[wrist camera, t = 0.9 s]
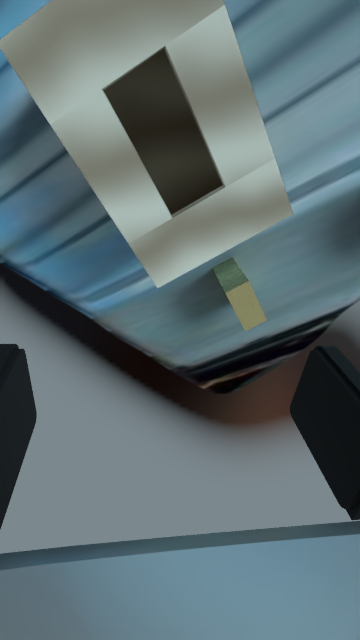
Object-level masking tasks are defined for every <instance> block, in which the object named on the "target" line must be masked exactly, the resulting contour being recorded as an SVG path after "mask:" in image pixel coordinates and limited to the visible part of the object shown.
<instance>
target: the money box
mask: <svg viewBox="0 0 360 640" xmlns="http://www.w3.org/2000/svg"><path fill="white" fill-rule="evenodd" d="M0 49H1V51H2V52H3V54H4V55H5V57H6V58H7V60H8V61H9V63H10V64H11V66H12V67H13V69H14V70H15V72H16V73H17V75H18V77H19V78H20V80H21V81H22V83H23V84H24V86H25V87H26V89H27V90H28V92H29V93H30V95H31V96H32V98H33V99H34V101H35V102H36V104H37V105H38V107H39V109H40V110H41V112H42V113H43V115H44V116H45V118H46V119H47V121H48V122H49V124H50V125H51V127H52V128H53V130H54V131H55V133H56V134H57V136H58V137H59V139H60V140H61V142H62V144H63V145H64V147H65V148H66V150H67V151H68V153H69V154H70V156H71V157H72V159H73V160H74V162H75V163H76V165H77V166H78V168H79V169H80V171H81V172H82V174H83V176H84V177H85V179H86V180H87V182H88V183H89V185H90V186H91V188H92V189H93V191H94V192H95V194H96V195H97V197H98V198H99V200H100V201H101V203H102V204H103V206H104V207H105V209H106V211H107V212H108V214H109V215H110V217H111V218H112V220H113V221H114V223H115V224H116V226H117V227H118V229H119V230H120V232H121V233H122V235H123V236H124V238H125V239H126V241H127V243H128V244H129V246H130V247H131V249H132V250H133V252H134V253H135V255H136V256H137V258H138V259H139V261H140V262H141V264H142V265H143V267H144V268H145V270H146V271H147V273H148V274H149V276H150V278H151V279H152V281H153V282H154V284H155V285H156V287H157V288H159V287H161V286H163V285H165V284H166V283H168V282H170V281H172V280H174V279H176V278H177V277H179V276H181V275H183V274H185V273H187V272H188V271H190V270H192V269H194V268H196V267H198V266H199V265H201V264H203V263H205V262H207V261H209V260H210V259H212V258H214V257H216V256H218V255H220V254H221V253H223V252H225V251H227V250H229V249H231V248H232V247H234V246H236V245H238V244H240V243H242V242H243V241H245V240H247V239H249V238H251V237H253V236H254V235H256V234H258V233H260V232H262V231H264V230H265V229H267V228H269V227H271V226H273V225H275V224H276V223H278V222H280V221H282V220H284V219H286V218H287V217H289V216H291V215H293V211H292V208H291V205H290V202H289V199H288V196H287V193H286V190H285V187H284V183H283V180H282V177H281V174H280V171H279V168H278V165H277V162H276V159H275V156H274V153H273V150H272V147H271V144H270V141H269V138H268V135H267V132H266V129H265V125H264V122H263V119H262V116H261V113H260V110H259V107H258V104H257V101H256V98H255V95H254V92H253V89H252V86H251V83H250V80H249V77H248V74H247V70H246V67H245V64H244V61H243V58H242V55H241V52H240V49H239V46H238V43H237V40H236V37H235V34H234V31H233V28H232V25H231V22H230V19H229V16H228V12H227V9H226V6H225V3H224V0H51V1H50V2H49V3H47V4H46V5H45V6H43V7H42V8H41V9H39V10H38V11H37V12H35V13H34V14H33V15H32V16H30V17H29V18H28V19H26V20H25V21H24V22H22V23H21V24H20V25H19V26H17V27H16V28H15V29H13V30H12V31H11V32H9V33H8V34H7V35H5V36H4V37H3V38H2V39H0Z"/></svg>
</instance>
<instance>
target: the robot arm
mask: <svg viewBox="0 0 360 640" xmlns="http://www.w3.org/2000/svg"><path fill="white" fill-rule="evenodd" d="M290 413H291V416H292V418H293V420H294V422H295V424H296V426H297V427H298V429H299V431H300V433H301V435H302V437H303V439H304V440H305V442H306V444H307V446H308V448H309V449H310V451H311V453H312V455H313V457H314V459H315V460H316V462H317V464H318V466H319V468H320V470H321V472H322V474H323V475H324V477H325V479H326V481H327V483H328V485H329V486H330V488H331V490H332V492H333V494H334V496H335V497H336V499H337V501H338V503H339V504H340V506H341V507H342V508H344V509H346V511H347V512H348V514H349V516H350V518H351V520H359V519H360V372H359V371H358V370H357V369H356V368H355V367H354V366H353V365H352V364H351V362H350V361H349V360H348V359H347V358H346V357H345V356H344V355H343V354H342V353H341V352H340V350H339V349H338V348H337V347H335V346H317V347H316V348H315V349H314V350H312V351H311V352H310V354H309V356H308V359H307V362H306V364H305V367H304V370H303V372H302V375H301V378H300V381H299V383H298V386H297V389H296V392H295V394H294V397H293V400H292V403H291V405H290ZM35 423H36V407H35V402H34V397H33V391H32V386H31V381H30V375H29V370H28V364H27V359H26V354H25V351H24V349H19V348H18V345H16V344H0V529H1V526H2V523H3V520H4V517H5V514H6V511H7V508H8V505H9V502H10V499H11V495H12V493H13V490H14V487H15V483H16V480H17V478H18V474H19V472H20V469H21V465H22V462H23V459H24V456H25V453H26V450H27V447H28V444H29V441H30V438H31V435H32V432H33V429H34V426H35ZM0 640H360V521H353V522H341V523H328V524H316V525H303V526H291V527H279V528H267V529H256V530H244V531H232V532H220V533H209V534H197V535H186V536H176V537H175V536H174V537H163V538H152V539H141V540H131V541H120V542H109V543H98V544H88V545H76V546H67V547H57V548H48V549H39V550H31V551H21V552H13V553H3V554H0Z"/></svg>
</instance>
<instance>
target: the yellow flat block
mask: <svg viewBox="0 0 360 640" xmlns="http://www.w3.org/2000/svg"><path fill="white" fill-rule="evenodd" d="M213 270H214V272H215V274H216V276H217V278H218V280H219V282H220V284H221V286H222V288H223V290H224V292H225V294H226V295H227V297H228V299H229V301H230V303H231V305H232V307H233V309H234V311H235V313H236V315H237V317H238V318H239V320H240V322H241V324H242V326H243V328H244V330H245V331H246V330H248V329H250V328H252V327H254V326H256V325H258V324H260V323H262V322H264V321H267V319H266V317H265V315H264V313H263V310H262V308H261V306H260V304H259V302H258V300H257V297H256V295H255V293H254V291H253V289H252V287H251V284H250V282H249V280H248V279H247V277H246V276H245V275H244V273H243V272H242V270H241V269H240V267H239V266H238V265H237V263H236V262H235V260H234V259H233V258H231V259H229V260H227V261H225V262H223V263H221V264H220V265H218V266H216V267H214V268H213Z"/></svg>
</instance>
